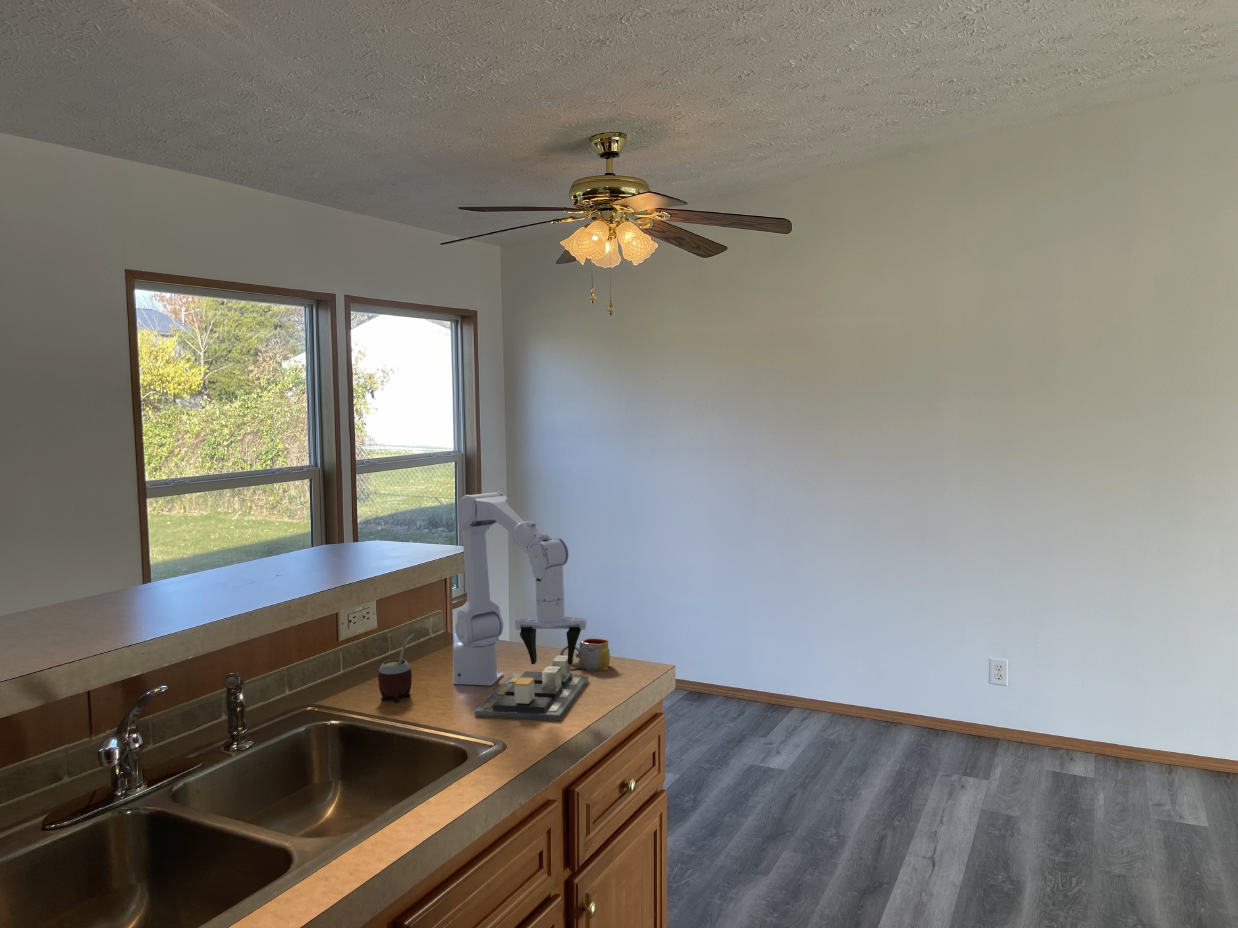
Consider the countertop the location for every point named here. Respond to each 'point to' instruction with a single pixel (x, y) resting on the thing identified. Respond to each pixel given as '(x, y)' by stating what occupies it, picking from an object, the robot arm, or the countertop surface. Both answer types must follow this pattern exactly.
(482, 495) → the robot arm
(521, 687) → the block
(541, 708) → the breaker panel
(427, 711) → the countertop surface
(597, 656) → the mug
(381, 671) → the mate gourd
